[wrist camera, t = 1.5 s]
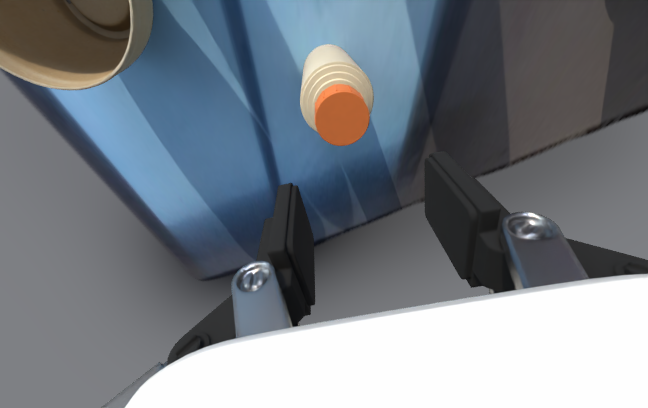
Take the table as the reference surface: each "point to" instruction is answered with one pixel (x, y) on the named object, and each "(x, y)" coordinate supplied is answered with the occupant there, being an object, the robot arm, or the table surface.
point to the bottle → (330, 78)
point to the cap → (341, 115)
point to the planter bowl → (72, 39)
